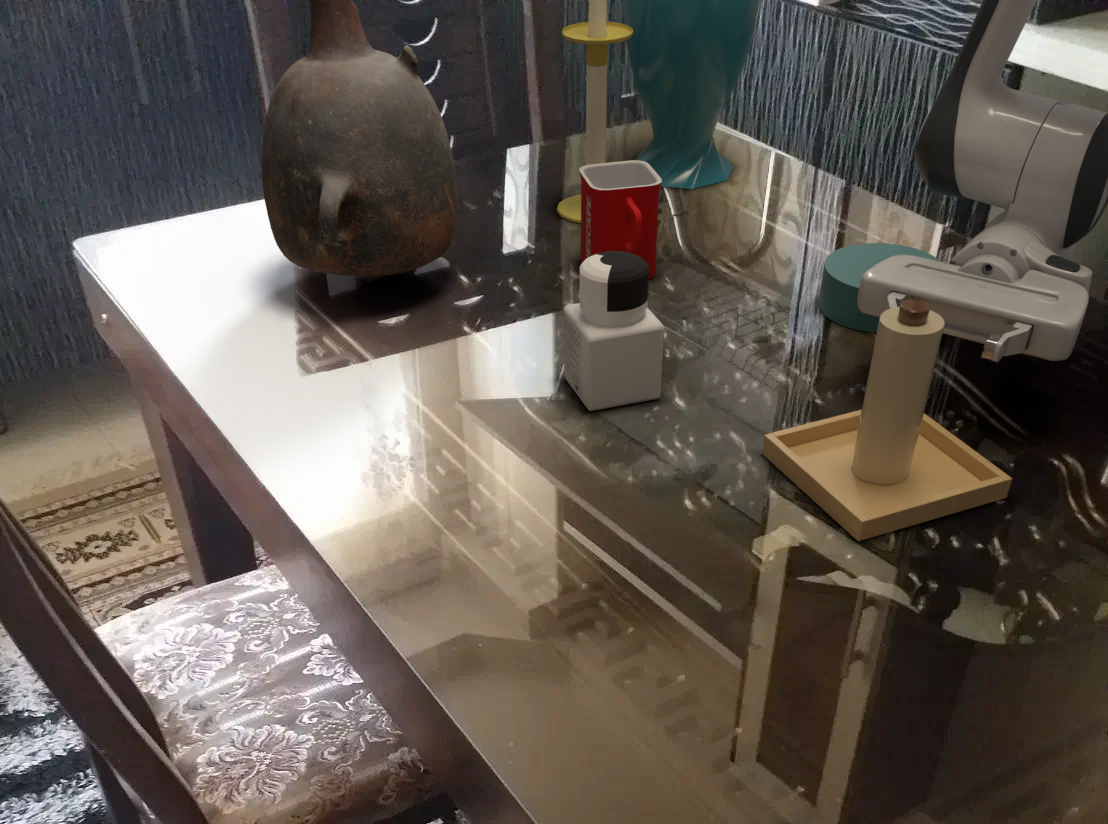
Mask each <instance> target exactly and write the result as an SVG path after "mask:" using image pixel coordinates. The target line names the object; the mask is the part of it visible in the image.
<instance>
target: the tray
mask: <svg viewBox="0 0 1108 824" xmlns="http://www.w3.org/2000/svg"><path fill="white" fill-rule="evenodd" d="M861 411H862V409H859V410H854V411H851V412H847V413H843V414H839V415H835V416H831V417H828V418H823V419H820V420H816V421H811V422H809V423H804V424H801V425H796V426H791V427H789V428H785V429H781V430H776V431H773V432H769V433H766V434H764V435H763V442H762V443H763V444H762V450H761V454H762V455H763V456H764V457H765V458H766V459H767V460H768V461H769V462H770V463H772V464H773V465H774V466H775V467H776V468H777V469H778V470H779V471H780V472H781V473H782V474H784V475H785V476H786V477H787V478H788V479H789V480H790V481H791V482H792V483H793V484H795V485H796V486H797V488H799V489H800V490H801V491H802V492H803V493H804V494H805V495H806V496H807V497H809V498H810V499H811V500H812V501H813V502H814V503H815V504H816V505H817V506H818V507H819V508H821V509H822V510H823V511H824V512H825V513H827V515H828V516H829V517H831V519H833V520H834V521H835V522H836V523H838V525H839V526H840V527H842V528H843V529H844V530H845V531H846V532H847V533H848V534H849V535H850V536H851V537H852V538H854V539H855V540H856V541H857V542H861V541H865V540H868V539H872V538H874V537H878V536H882V535H885V534H888V533H892V532H895V531H899V530H902V529H905V528H909V527H912V526H915V525H916V526H917V525H919V524H922V523H925V522H929V521H932V520H936V519H940V518H942V517H945V516H946V517H947V516H949V515H953V514H956V513H960V512H964V511H967V510H969V509H973V508H977V507H980V506H984V505H987V504H990V503H994V502H997V501H1000V500H1004V499H1007V497H1008V495H1009V491H1010V489H1011V488H1010V487H1011V484H1012V481H1013V478H1012V477H1011V476H1010V475H1008V474H1007V473H1006V472H1004V471H1003V470H1002V469H1000V468H999V467H997V466H996V465H995V464H993V463H992V462H991V461H990V460H988V459H987V458H985V457H984V456H982V455H981V454H980V453H979V452H978V451H976V450H975V449H973V448H972V447H971V446H969V445H968V444H966V443H965V442H964V441H963V440H961V439H960V438H959V437H957V436H956V435H954V434H953V433H951V432H950V431H949V430H948V429H947V428H945V427H944V426H942V425H941V424H940V423H938V422H937V421H935V420H934V419H933V418H931V417H930V416H929V415H927V414H926V413H924V414H923V418H922V422H921V427H920V431H919V435H918V439H917V443H916V448H915V452H914V456H913V460H912V465H911V469H910V473H909V476H908V477H907V478H906V479H905V480H904V481H902V482H900V483H897V484H891V485H879V484H873V483H869V482H866V481H864V480H862V479H860V478H858V477H857V476H856V475H855V474H854V473H853V472H852V470H851V462H852V457H853V452H854V447H855V442H856V437H857V432H858V426H859V421H860V416H861Z"/></svg>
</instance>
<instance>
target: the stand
mask: <svg viewBox="0 0 1108 824" xmlns="http://www.w3.org/2000/svg"><path fill="white" fill-rule="evenodd" d="M895 255H913V256H918V257H922V258H927V259H931V260H935V261H940V262H942V261H941V260H940V259H939V258H937V257H936V256H934V255H933V254H930V253H929V252H926V251H925V250H924V251H923V250H922V249H918V248H914V247H911V246H907V245H900V244H895V243H886V242H868V243H867V242H866V243H857V244H851V245H848V246H843V247H841V248H838V249H835V250H834V251H832V252H831V253H829V254H828V255H827V256H826V258H825V259H824V263H823V268H822V274H821V275H822V276H821V282H820V287H819V296H818V301H817V302H818V303H817V305H818V309H819V310H820V312H821V313H822V314H823V316H824V317H826V318H827V319H829V320H830V321H832V322H834V323H835V324H838V325H841V326H842V327H846V328H848V329H853V330H856V331H861V332H867V333H873V334H875V333H876V334H877V329H878V324H879V319H880V317H876V316H872V315H868V314H864V313H862V312H861V311H860V310H859V308H858V305H857V299H858V292H859V286H860V282H861V279H862V276H863V274H864V273H865V272H866V271H867V270H869V269H870V268H871V267H873V266H875V265H876V264H878V263H880V262H881V261H883V260H885V259H887V258H889V257H892V256H895Z"/></svg>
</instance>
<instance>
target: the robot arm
mask: <svg viewBox="0 0 1108 824" xmlns="http://www.w3.org/2000/svg"><path fill="white" fill-rule="evenodd" d="M1037 1H1038V0H982V1H981V4H980V6H979V9H978V11H977V13H976V14H975V17H974V18H973V22H972V24H971V26H970V28H969V30H968V32H967V34H966V37H965V38H964V41H963V44H962V45H961V48H960V51H959V52H958V55H957V56H956V60H955V61H954V64H953V66H952V67H951V70H950V72H949V74H948V76H947V78H946V80H945V82H944V83H943V86H942V87H941V89H940V91H939V93H938V95H937V97H936V98H935V101H934V103H933V104H932V105H931V108H930V109H929V111H928V113H927V115H926V117H925V118H924V121H923V122H922V125H921V128H920V130H919V133H918V135H917V139H916V144H915V149H914V162H915V164H916V167H917V170H918V172H919V174H920V176H921V178H922V180H923V182H924V184H925V185H926V187H927V188H928V189H929V191H930V192H931V193H933V194H934V195H935V194H936V195H941V196H947V197H952V198H958V199H963V200H967V199H969V200H973V201H976V202H979V203H983V204H986V205H990V206H992V207H997V208H1001V209H1003V210H1002V211H1001V212H1000V213H999V214H998V215H996V216H995V217H994V218H993V219H992V220H991V221H990V222H989V223H988V224H987V225H986V226H985V227H984V228H983V230H982V231H980V232H979V233H977V234H976V235H975V236H974V237H972V239H971V240H970V241H968V242H967V243H966V244H965V245H964V246H963V247H962V248H961V249H960V250H959V251H958V252H956V254H955V255H954V256H953V257H952V259H951V260H950V261H949V262H944V261H941V260H940V261H941V262H940V261H935V260H931V259H927V258H922V257H918V256H913V255H895V256H892V257H889V258H887V259H885V260H883V261H881V262H880V263H878V264H876V265H875V266H873V267H871V268H870V269H869V270H867V271H866V272H865V273H864V274H863V276H862V279H861V282H860V286H859V292H858V299H857V305H858V308H859V310H860V311H861V312H862V313H864V314H868V315H872V316H876V317H880V315H881V314H882V313H883V312H884V311H886V310H888V309H891V308H895V307H900V304H901V303H902V302H903V301H906V300H920V301H924V302H926V303H928V304H929V305H930V310H931V311H933V312H935V313H937V314H939V315H940V316H941V317H942V318H943V319H944V322H945V325H944V330H943V334H944V335H948V336H952V337H956V338H959V339H964V340H966V341H967V340H968V341H970V342H971V341H972V342H975V343H980V344H983V351H982V352H981V355H980V358H981V359H984V360H987V361H991V362H995V363H998V362H1000V361H1001V359H1002V358H1003V357H1009V356H1013V355H1018V354H1023V355H1027V356H1031V357H1034V358H1037V359H1038V358H1039V359H1041V360H1042V359H1043V360H1046V361H1049V362H1060V361H1065V360H1067V359H1068V358H1069V357H1070V356H1071V354H1072V353H1073V350H1074V348H1075V345H1076V342H1077V340H1078V336H1079V334H1080V330H1081V328H1082V326H1083V321H1084V318H1085V314H1086V311H1087V308H1088V305H1089V300H1090V296H1089V292H1090V288H1091V283H1092V279H1093V270H1091V269H1090V268H1089V267H1087V266H1084V265H1082V264H1079V263H1077V262H1074V261H1072V258H1073V256H1074V253H1075V252H1076V251H1077V248H1078V245H1079V242H1080V241H1081V240H1082V239H1084V238H1085V237H1086V236H1087V235H1089V234H1090V233H1091V231H1093V229H1094V228H1095V227H1096V225H1097V224H1098V222H1099V220H1100V219H1101V217H1102V215H1103V213H1104V212H1105V209H1106V208H1107V206H1108V112H1105V111H1102V110H1098V109H1095V108H1092V107H1087V106H1085V105H1081V104H1077V103H1072V102H1069V101H1065V100H1056V99H1053V98H1048V97H1045V96H1041V95H1037V94H1033V93H1029V92H1025V91H1021V90H1018V89H1014V88H1011V87H1009V86H1007V85H1006V84H1005V82H1004V81H1003V71H1004V69H1005V67H1006V65H1007V63H1008V61H1009V58H1010V56H1011V54H1012V52H1013V50H1014V48H1015V46H1016V44H1017V42H1018V40H1019V38H1020V36H1021V34H1022V32H1023V30H1024V27H1026V26H1025V25H1026V23H1027V22H1028V19H1029V17H1030V15H1031V14H1032V11H1033V9H1034V7H1035V5H1036V3H1037ZM943 334H942V335H943Z"/></svg>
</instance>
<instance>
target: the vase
mask: <svg viewBox="0 0 1108 824" xmlns="http://www.w3.org/2000/svg"><path fill="white" fill-rule="evenodd" d="M760 6H761V0H621V11H622V24H624V25H627V26H629V27H631V28H632V29H633V34H632V37H631V38H629V39H627V40H625V44H626V50H627V54H628V60H629V63H630V67H631V71H632V75H633V78H634V82H635V85H636V88H637V91H638V94H639V97H640V99H641V102H642V105H643V107H644V110H645V112H646V115H647V117H648V120H649V123H650V126H651V131H652V139H651V141H650V142H649V144H648V146H646V148H645V149H644V150H643V151H642V152H641V153H640V155H638V156H637V157H636V158H635V159H634V160H639V161H644V162H647V163H648V164H650V166H651V167H652V168H653V169H654V170H655V172H656V173H657V174H658V175H659V177H660V178H661V179H662V183H661V186H660V187H662V188H664V187H665V188H674V189H675V188H677V189H687V190H694V189H699V188H701V187H706V186H710V185H714V184H719V183H722V182H726V181H728V180H729V177H730V175H731V172H732V170H733V168H734V165H733V164H732V163H730V161H729V160H728V159H727V158H726V157H724V156H723V155H722V154H721V153H720V152H719V151H718V150H717V146H716V144H715V143H716V142H715V139H714V133H715V130H716V127H717V124H718V123H719V121H720V118H721V116H722V114H723V112H724V110H725V108H726V107H727V104H728V102H729V100H730V98H731V95H732V94H733V91H734V89H735V87H736V85H737V84H738V81H739V80H740V76H741V74H742V73H743V70H744V68H745V64H746V62H747V59H748V56H749V53H750V49H751V47H752V43H753V40H754V36H755V33H756V27H757V24H758V18H759V13H760Z"/></svg>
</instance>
